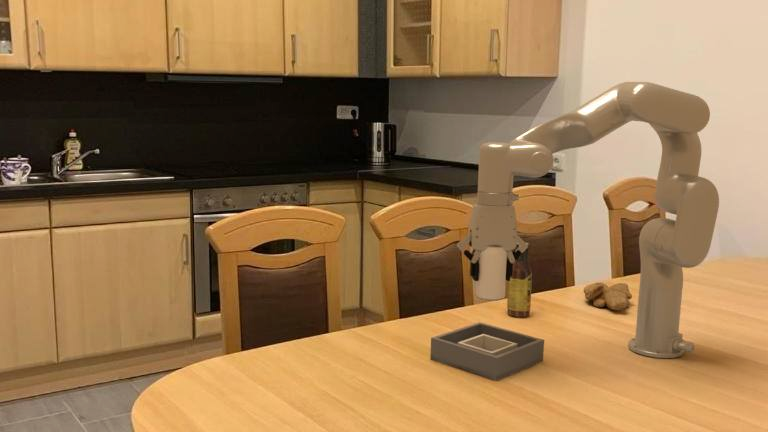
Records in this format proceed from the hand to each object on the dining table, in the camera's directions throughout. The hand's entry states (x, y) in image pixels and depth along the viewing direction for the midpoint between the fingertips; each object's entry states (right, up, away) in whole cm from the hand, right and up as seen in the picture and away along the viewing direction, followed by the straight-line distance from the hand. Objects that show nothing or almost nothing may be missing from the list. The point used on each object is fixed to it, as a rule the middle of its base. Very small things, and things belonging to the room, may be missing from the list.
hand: (490, 278), depth 174 cm
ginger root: (+40, -12, +52) cm, 67 cm away
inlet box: (-1, -19, +3) cm, 19 cm away
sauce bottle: (+13, -13, +40) cm, 44 cm away
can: (0, -4, +1) cm, 4 cm away
